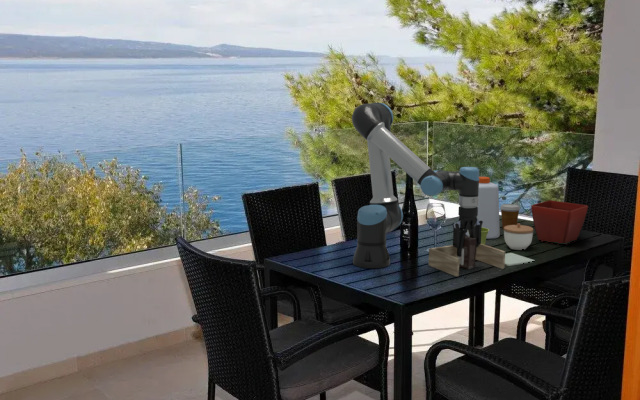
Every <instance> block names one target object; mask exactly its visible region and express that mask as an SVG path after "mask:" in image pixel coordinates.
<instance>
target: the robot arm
mask: <svg viewBox="0 0 640 400" xmlns="http://www.w3.org/2000/svg"><path fill="white" fill-rule="evenodd" d="M393 122H394V113H393V111H392V109H391V108H390V107H389V106H388V105H387V104H385V103H382V102H370V103H363V104H360V105H358V106H357V107H356V108H355V109H354V111H353V112H352V115H351V123H352V125H353V127H354V130H356V131H357V133H359V135H361V137H363V139H364V140H366V142H367V144H366V145H367V151H368V161H369V162H368V163H369V171H370V180H371V181H370V182H371V191H372V192H371V193H372V198H371V200H370V201H369V205H364V206H361V207H360V208H359V209H358V211H357V216H356V220H357V239H356V240H357V245H356V247H355V251H354V255H353V257H352V265H354V266H355V267H359V268H365V269H380V268H387V267H389V266H390V265H391V257H390V254H389V250H388V247H387V234H388V233H390V232H392V231H394V230H397V228H398V227H400V225H401V223H402V222H403V218H404V213H403V210H402V207H400V205H399V202H398V198H397V197H396V196H395V195H394V189H393V188H394V187H393V176H392V169H391V168H392V167H391V160H392V162H394V163H395V164H396V165H398V167H399V168H401V169H402V170H403V171H404V172H405V173H406V174H407V175H408V176H409V177H410V178H412V179H413V180H414V181H415V182H416V183H417V184H418V185H419V186H420V189H421V191H422V193H423V194H424V195H426V196H428V197H430V196H436V195H439V194H441V193H442V192H443V193H444V192H445V191H458V194H459V195H458V206H459V207H458V214H457V215H458V221H457V222H452V227H453V233H452V245H453V247H456V248H457V256H458V258H459V264H460V265H464V249H463V244H464V239H465V236H467V235H466V233H467V230H469V235H470V237H471V238H476V247H478V246H479V245H480V244H481V227H482V223H483V221H481V220H477V216H478V208H477V207H476V206H478V192H479V177H480V169H479V168H478V167H475V166H474V167H473V166H463V167H460V168H459V171H449V170H442V169H441V170H440V169H438V170H433V169H432V168H431V167H430V166H428V164H426V162H424V161H423V160H422V159H421V158H420V157H419V156H418V155H416V154H415V152H413V151H412V149H410V148H409V147H408V146H406V144H404V143H403V142H402V141H401V139H399V138H397V137H396V136H395V135H394V134H393V133H392V131H391V126H392V124H393ZM475 224H476V225H475ZM463 229H464V230H463Z"/></svg>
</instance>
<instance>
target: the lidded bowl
mask: <svg viewBox="0 0 640 400" xmlns="http://www.w3.org/2000/svg"><path fill="white" fill-rule="evenodd" d="M534 230H535V228H533V227H531V226H529V225H522V224H521V223H518V222H517V225H508V226H505V227H504V230H503V237H504V242H505V243H506V245H507V246H508V247H509V249H510V250H516V251H522V249H524V250H526V249H527V248H528V247H529V246H530V245H531V243H532V241H533V236H534Z"/></svg>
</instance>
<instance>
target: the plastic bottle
mask: <svg viewBox="0 0 640 400" xmlns="http://www.w3.org/2000/svg"><path fill="white" fill-rule="evenodd" d="M499 191H500V190H499V185H498V184H496V183H493V182H491V179H490V177H489V176H479V192H478V206H476V207H477V208H478V216H477V220H481V221H483V223H482V227H483V228H487V229H489V231H488V234H487V237H486V240H491V239H492V240H493V239H498V238H499V237H500V235H501V233H500V232H501V229H500V227H501V226H500V204H499V203H500V200H499V199H500V197H499ZM475 225H476V224H475ZM463 230H464V229H463ZM465 236H466V237H469V232H468V230H467V233H466V235H465Z"/></svg>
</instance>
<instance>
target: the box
mask: <svg viewBox="0 0 640 400" xmlns="http://www.w3.org/2000/svg"><path fill="white" fill-rule="evenodd" d="M463 249H464V265H460V264H459V268H463V269H468V270H471V269H475V268H476V259H475V255H476V238H471V237H468V236H467V235H465V239H464V244H463Z"/></svg>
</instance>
